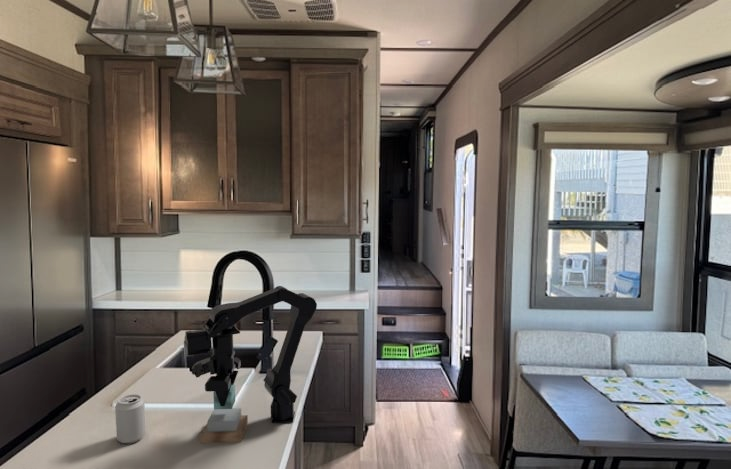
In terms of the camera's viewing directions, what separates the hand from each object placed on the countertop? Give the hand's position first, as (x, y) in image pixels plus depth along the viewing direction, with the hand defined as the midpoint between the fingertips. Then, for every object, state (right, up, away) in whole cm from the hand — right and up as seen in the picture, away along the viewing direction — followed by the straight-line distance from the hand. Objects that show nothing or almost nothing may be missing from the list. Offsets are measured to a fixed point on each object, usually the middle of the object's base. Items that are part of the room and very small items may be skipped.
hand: (224, 401), depth 145 cm
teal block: (0, -1, 0) cm, 1 cm away
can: (-26, -10, -2) cm, 28 cm away
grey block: (0, -7, +1) cm, 7 cm away
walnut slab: (0, -10, +1) cm, 10 cm away
